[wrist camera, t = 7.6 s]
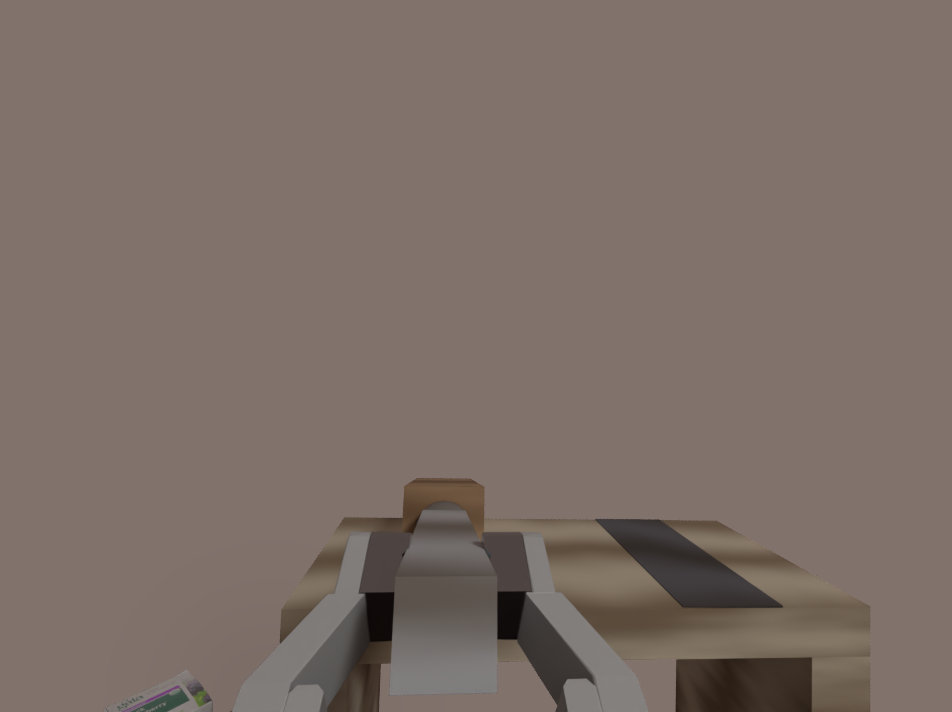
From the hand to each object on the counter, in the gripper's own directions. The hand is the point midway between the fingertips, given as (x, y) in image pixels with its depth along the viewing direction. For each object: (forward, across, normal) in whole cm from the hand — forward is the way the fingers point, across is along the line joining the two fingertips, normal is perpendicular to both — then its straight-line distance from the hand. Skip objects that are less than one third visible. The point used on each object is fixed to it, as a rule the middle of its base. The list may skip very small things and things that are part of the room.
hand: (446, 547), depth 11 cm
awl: (+4, 0, +7) cm, 8 cm away
